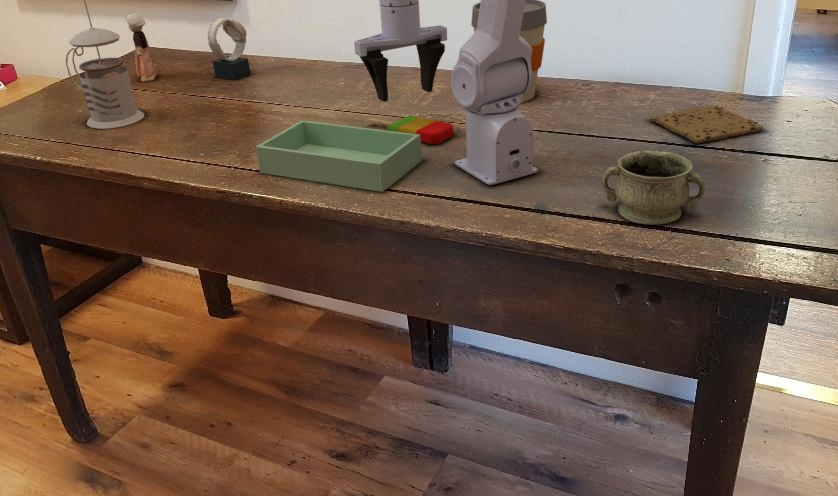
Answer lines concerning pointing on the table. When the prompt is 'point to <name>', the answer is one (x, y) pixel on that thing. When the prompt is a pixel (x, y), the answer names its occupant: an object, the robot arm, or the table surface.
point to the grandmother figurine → (141, 48)
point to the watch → (233, 64)
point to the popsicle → (420, 128)
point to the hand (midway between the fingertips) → (405, 95)
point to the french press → (104, 82)
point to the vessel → (652, 186)
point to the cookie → (706, 123)
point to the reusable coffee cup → (528, 35)
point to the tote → (340, 155)
